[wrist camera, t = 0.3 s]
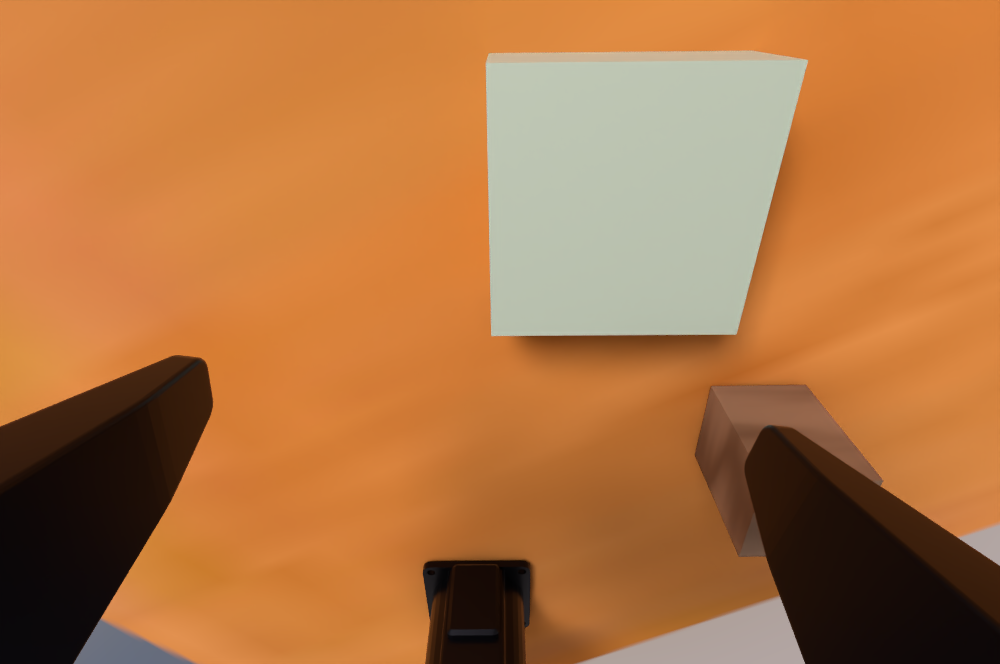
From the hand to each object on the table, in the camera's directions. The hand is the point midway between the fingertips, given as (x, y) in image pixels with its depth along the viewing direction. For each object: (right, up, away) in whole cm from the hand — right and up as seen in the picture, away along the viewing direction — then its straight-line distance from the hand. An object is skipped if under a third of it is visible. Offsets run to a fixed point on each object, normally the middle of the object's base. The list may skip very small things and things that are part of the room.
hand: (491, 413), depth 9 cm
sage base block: (+4, +7, +12) cm, 15 cm away
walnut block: (+12, -3, +18) cm, 22 cm away
